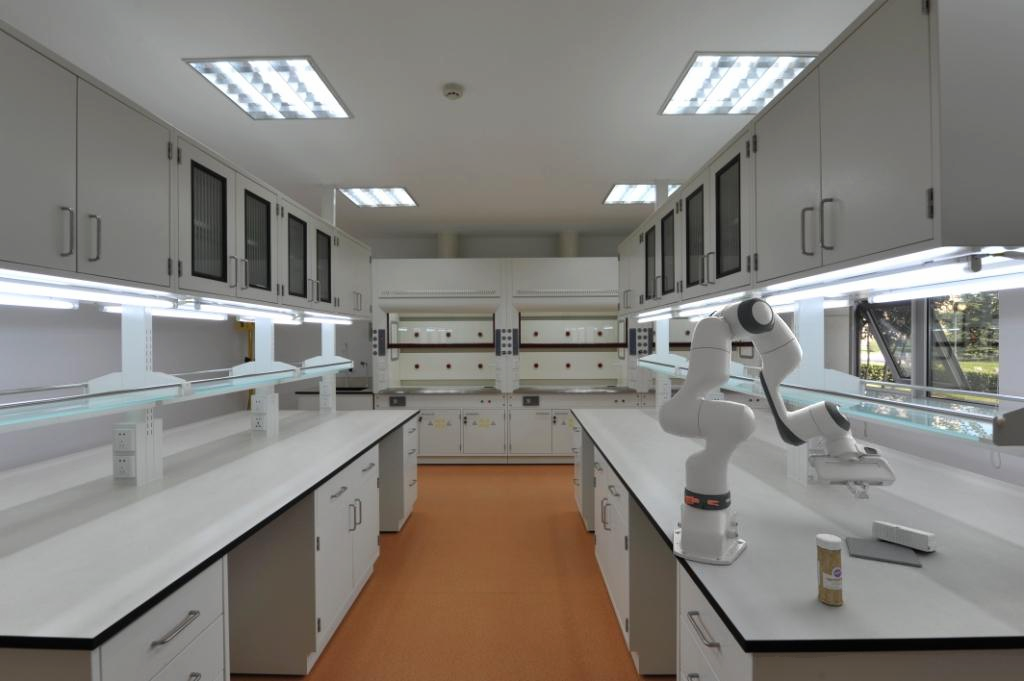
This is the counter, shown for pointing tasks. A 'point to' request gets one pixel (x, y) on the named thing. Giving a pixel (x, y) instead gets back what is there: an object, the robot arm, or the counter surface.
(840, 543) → the sprinkles bottle
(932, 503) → the counter surface
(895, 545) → the mat
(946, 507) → the counter surface
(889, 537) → the skincare box
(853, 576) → the counter surface
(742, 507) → the counter surface
